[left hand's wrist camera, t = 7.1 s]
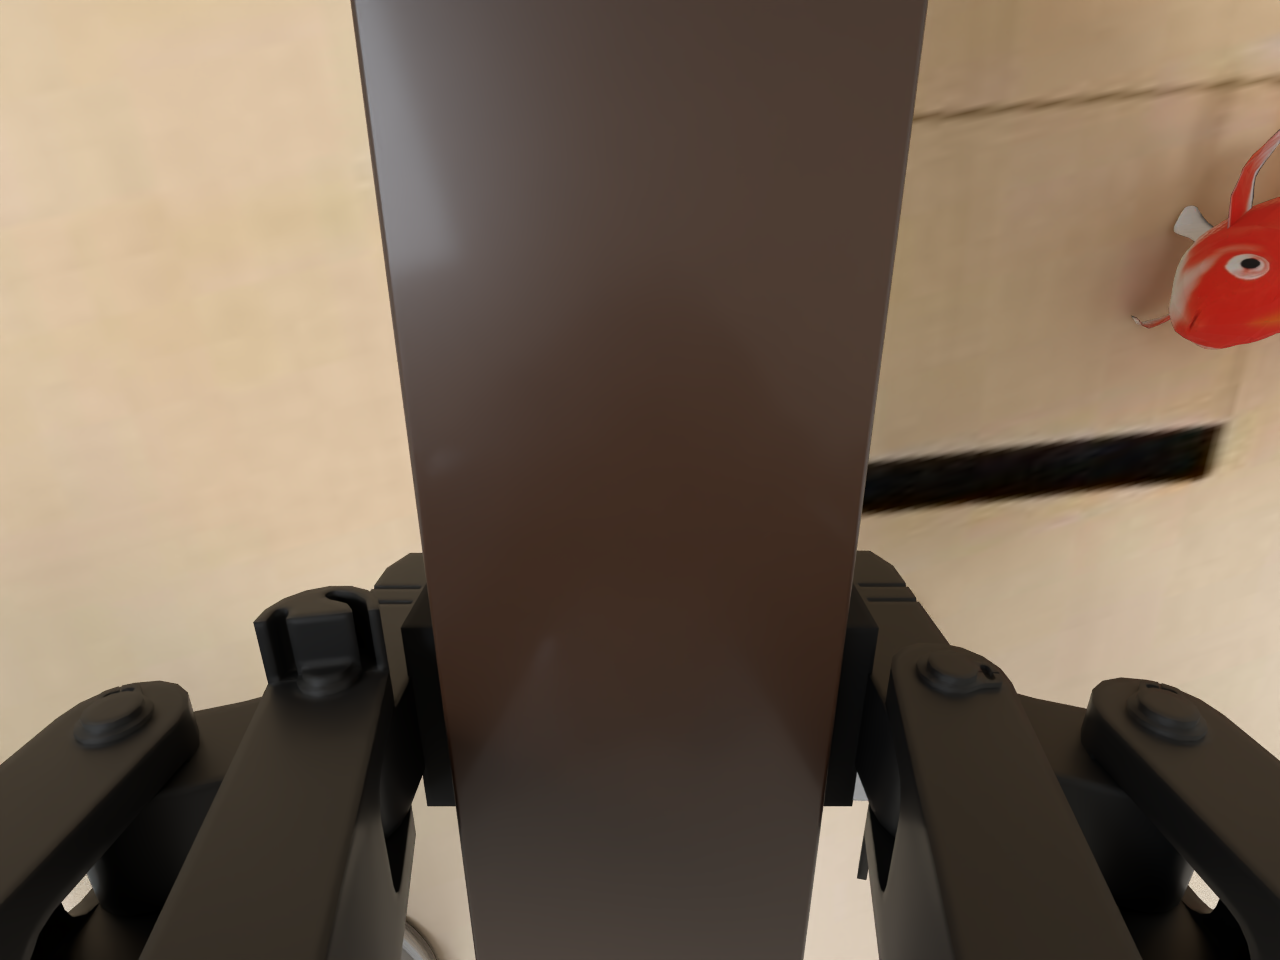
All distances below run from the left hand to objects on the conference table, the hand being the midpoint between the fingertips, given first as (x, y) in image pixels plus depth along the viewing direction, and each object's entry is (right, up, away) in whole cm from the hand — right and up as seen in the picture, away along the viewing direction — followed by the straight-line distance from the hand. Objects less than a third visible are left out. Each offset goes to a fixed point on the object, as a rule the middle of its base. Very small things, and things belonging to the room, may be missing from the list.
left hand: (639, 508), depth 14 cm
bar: (0, +9, -3) cm, 9 cm away
